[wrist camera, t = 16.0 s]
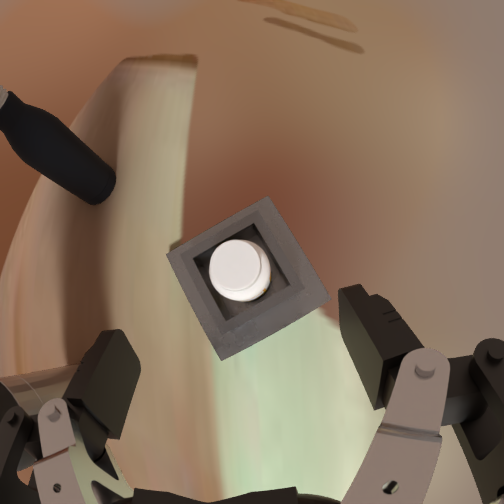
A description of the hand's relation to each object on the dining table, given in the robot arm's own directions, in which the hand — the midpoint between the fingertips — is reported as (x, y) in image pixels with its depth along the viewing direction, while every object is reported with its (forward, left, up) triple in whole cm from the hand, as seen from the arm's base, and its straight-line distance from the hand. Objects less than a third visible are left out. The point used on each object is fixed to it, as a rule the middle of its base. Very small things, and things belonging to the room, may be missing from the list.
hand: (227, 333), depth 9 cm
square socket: (-2, +4, -22) cm, 23 cm away
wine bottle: (-26, +15, -22) cm, 38 cm away
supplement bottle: (-2, +4, -21) cm, 22 cm away
